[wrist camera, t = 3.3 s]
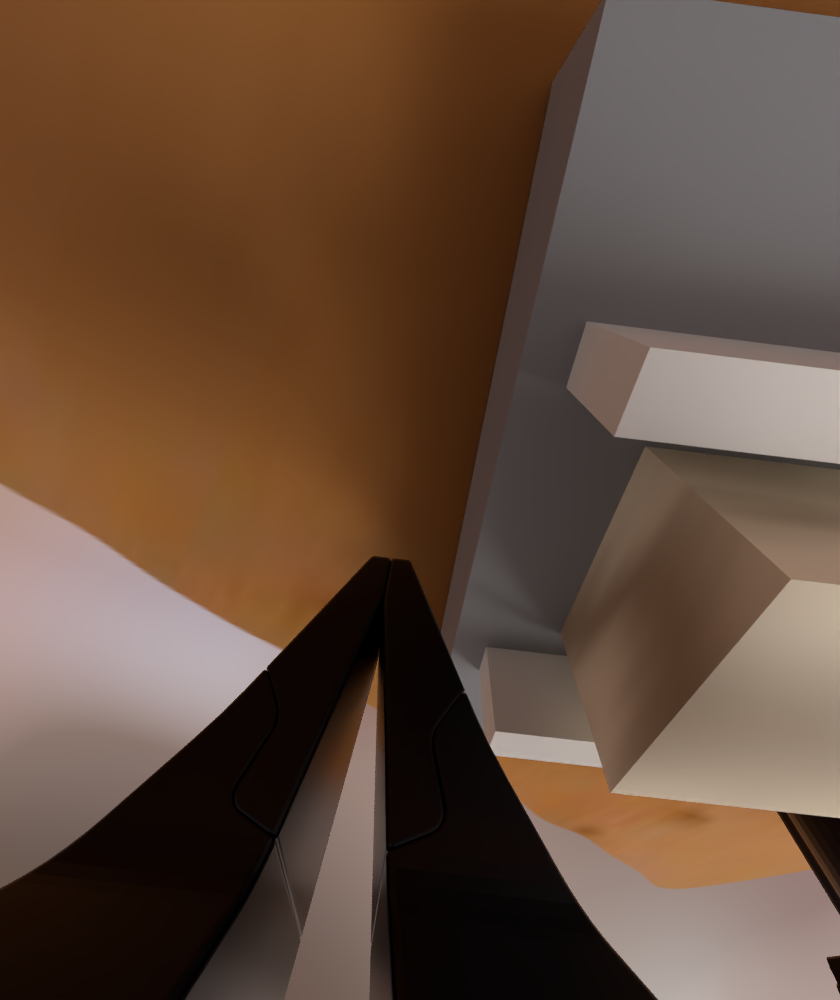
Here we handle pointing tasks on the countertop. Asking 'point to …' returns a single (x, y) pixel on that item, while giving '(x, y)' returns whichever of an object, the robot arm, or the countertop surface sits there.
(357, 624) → the robot arm
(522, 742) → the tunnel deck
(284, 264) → the countertop surface
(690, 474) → the beech block
